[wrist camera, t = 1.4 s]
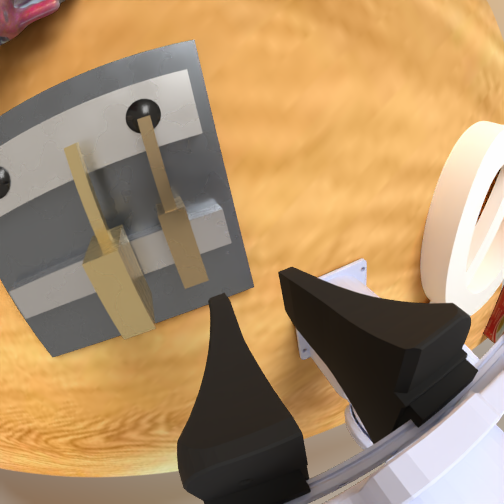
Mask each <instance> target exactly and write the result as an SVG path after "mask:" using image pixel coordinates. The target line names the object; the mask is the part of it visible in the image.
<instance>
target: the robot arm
mask: <svg viewBox="0 0 504 504" xmlns="http://www.w3.org/2000/svg"><path fill="white" fill-rule="evenodd" d="M361 268H362V269H361ZM366 268H367V263H366V260H364V259H359V260H357V261H355V262H352V263H350V264H348V265H346V266H343V267H341V268H339V269H337V270H334V271H332V272H330V273H327V274H325V275H323V276H320V277H318V278H317V277H315V276H312V275H310V274H308V273H305V272H303V271H301V270H299V269H296V268H294V267H290V268H287V269H285V270H282V271H280V272H278V273H279V279H280V284H281V289H282V295H283V300H284V306H285V311H286V312H287V314H288V316H289V317H290V319H291V321H292V322H293V324H294V326H295V328H296V334H297V341H298V348H299V355H300V358H301V359H302V360H305V359H307V358H309V357H311V358H312V359H313V361H314V362H315V363H316V365H317V366H318V367H319V369H320V370H321V372H322V373H323V374H324V376H325V377H326V378H327V380H328V381H329V382H330V384H331V385H332V387H333V388H334V389H335V391H336V392H337V393H338V394H339V395H340V396H341V397H343V398H345V399H347V400H348V402H349V403H350V404H349V405H348V406H347V407H346V408H345V423H346V426H347V429H348V431H349V432H350V434H351V436H352V437H353V439H354V440H355V441H356V443H357V444H358V445H359V446H360V447H361V448H362V449H363V450H364V451H362V452H360V453H359V454H357V455H355V456H353V457H351V458H350V459H348V460H346V461H344V462H342V463H341V464H339V465H337V466H335V467H333V468H331V469H329V470H327V471H325V472H323V473H321V474H319V475H317V476H315V477H313V478H311V479H309V475H308V470H307V465H308V464H307V457H306V452H305V446H304V440H303V435H302V432H301V430H300V429H299V427H298V425H297V423H296V422H295V420H294V418H293V417H292V415H291V414H290V412H289V411H288V410H287V408H286V407H285V406H284V404H283V403H282V401H281V400H280V398H279V397H278V395H277V394H276V392H275V391H274V390H273V388H272V386H271V385H270V383H269V382H268V380H267V379H266V377H265V375H264V374H263V372H262V370H261V369H260V367H259V365H258V364H257V362H256V360H255V359H254V357H253V355H252V353H251V352H250V350H249V348H248V346H247V344H246V343H245V341H244V338H243V336H242V333H241V331H240V328H239V325H238V322H237V319H236V316H235V314H234V311H233V308H232V305H231V302H230V300H229V299H228V297H227V295H226V294H225V293H222V294H219V295H217V296H214V297H211V298H210V299H209V300H208V303H209V308H210V340H209V349H208V356H207V362H206V367H205V372H204V376H203V380H202V383H201V387H200V390H199V393H198V396H197V399H196V402H195V404H194V407H193V409H192V412H191V415H190V417H189V419H188V421H187V423H186V425H185V427H184V429H183V431H182V433H181V435H180V437H179V439H178V442H177V460H178V469H179V473H180V477H181V481H182V484H183V487H184V489H185V490H186V491H187V492H189V493H191V494H193V495H194V496H196V497H198V498H199V499H201V500H203V501H204V504H308V503H310V502H312V501H315V500H317V499H319V498H321V497H323V496H325V495H327V494H329V493H331V492H334V491H335V490H337V489H339V488H341V487H343V486H345V485H347V484H348V483H350V482H352V481H354V480H356V479H358V478H359V477H361V476H363V475H365V474H366V473H368V472H370V471H371V470H373V469H375V468H376V467H378V466H379V465H381V464H382V463H384V462H385V464H384V465H383V466H382V467H381V468H380V469H378V470H377V471H376V472H374V473H372V474H371V475H370V476H368V477H366V478H365V479H363V480H362V481H360V482H358V483H357V484H355V485H354V486H352V487H350V488H349V489H347V490H345V491H344V492H342V493H340V494H338V495H337V496H335V497H333V498H331V499H329V500H328V501H326V502H324V503H322V504H504V432H503V431H502V430H501V429H500V428H499V427H498V426H497V425H496V423H497V422H498V421H499V420H500V418H501V416H502V415H503V414H504V334H503V335H502V336H501V337H500V338H499V340H498V341H497V342H496V343H495V344H494V345H493V346H492V347H491V348H490V350H489V351H488V352H487V353H486V354H485V355H484V356H483V357H482V358H481V359H480V360H479V359H478V358H477V356H476V355H475V354H474V353H473V352H472V351H471V350H470V349H469V348H468V347H467V346H466V345H465V344H464V343H465V340H466V338H467V335H468V333H469V329H470V326H471V318H470V315H468V314H467V313H466V312H465V311H463V310H462V309H461V308H459V307H458V306H457V305H455V304H454V303H411V302H401V301H395V300H388V299H382V298H380V297H379V296H377V295H376V294H375V293H374V292H373V291H371V290H370V289H369V288H368V287H367V286H366Z"/></svg>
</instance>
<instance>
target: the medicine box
mask: <svg viewBox="0 0 504 504" xmlns="http://www.w3.org/2000/svg"><path fill="white" fill-rule="evenodd" d="M483 334H484V335H485V336H486V337H487V338H489V339H490V340H491V341H492V342H493V343H496V342H497V341H498V340H499V338H500V337H501V336H502V335H503V334H504V286H503V288H502V291H501V294H500V296H499V299H498V301H497V303H496V306H495V308H494V310H493V313H492V315H491V317H490V319H489V322H488V324H487V326H486V328H485V330H484V332H483Z"/></svg>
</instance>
